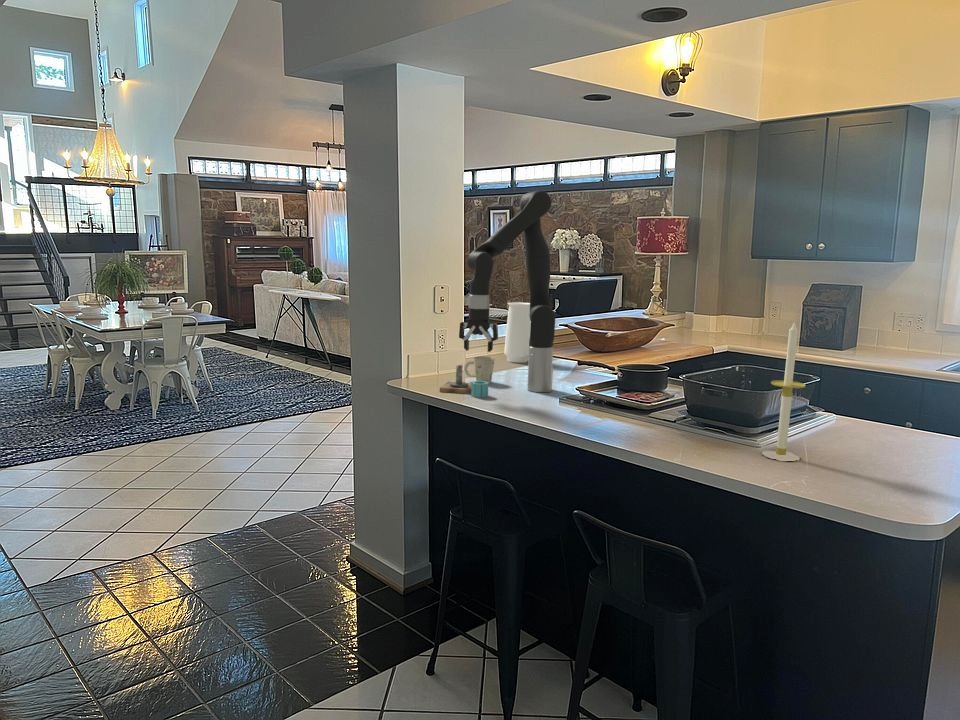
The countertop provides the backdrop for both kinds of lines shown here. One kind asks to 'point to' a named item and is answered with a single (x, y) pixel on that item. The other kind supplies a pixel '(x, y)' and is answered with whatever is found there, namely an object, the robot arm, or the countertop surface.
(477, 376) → the mug
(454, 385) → the post block
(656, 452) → the countertop surface
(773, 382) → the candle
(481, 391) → the collar
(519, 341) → the vase
